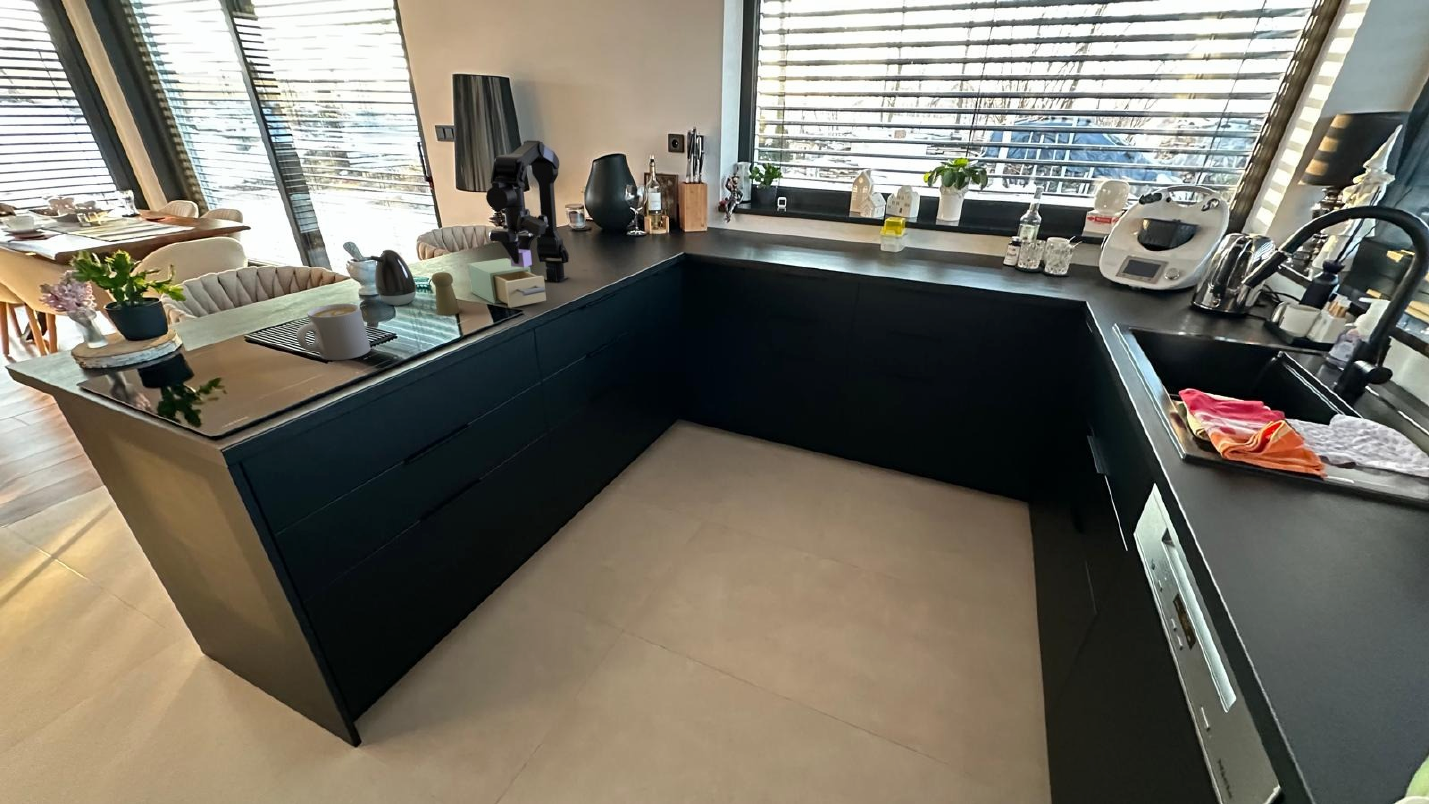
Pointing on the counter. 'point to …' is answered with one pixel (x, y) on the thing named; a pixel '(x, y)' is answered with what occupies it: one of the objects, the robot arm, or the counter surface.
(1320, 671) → the counter surface
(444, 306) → the pepper mill
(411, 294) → the pump dispenser
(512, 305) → the drawer
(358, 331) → the coffee mug
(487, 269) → the green drawer cabinet
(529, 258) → the soap block
